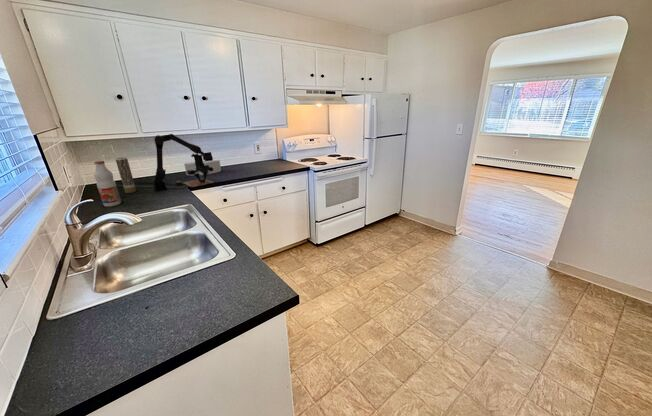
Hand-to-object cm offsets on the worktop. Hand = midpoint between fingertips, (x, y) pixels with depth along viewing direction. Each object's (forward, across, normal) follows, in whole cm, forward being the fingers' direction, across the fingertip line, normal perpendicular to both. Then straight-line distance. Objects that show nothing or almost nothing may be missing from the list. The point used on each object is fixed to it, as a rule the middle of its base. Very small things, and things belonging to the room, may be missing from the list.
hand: (202, 180), depth 217 cm
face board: (+2, -2, +4) cm, 5 cm away
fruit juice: (+2, -61, -5) cm, 61 cm away
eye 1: (+2, -15, +9) cm, 18 cm away
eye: (+1, 0, 0) cm, 1 cm away
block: (+2, +16, +33) cm, 37 cm away
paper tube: (+2, -46, +17) cm, 49 cm away
